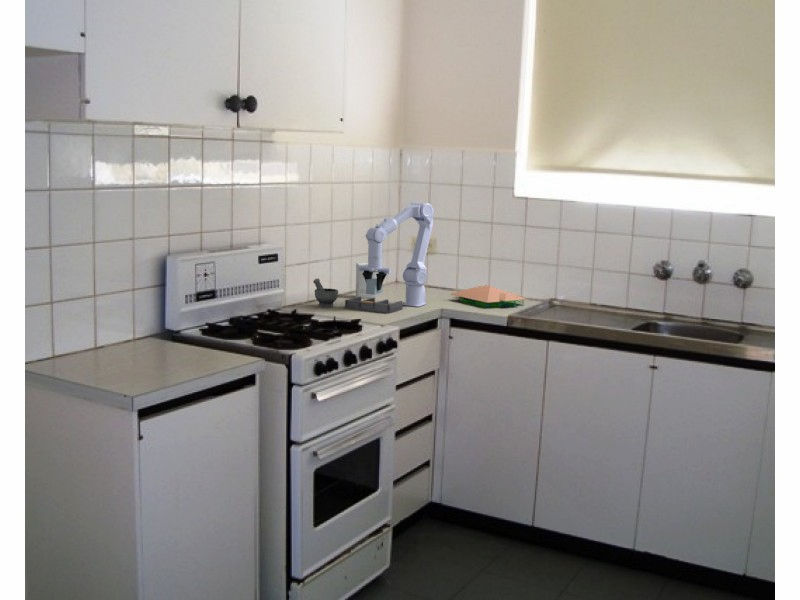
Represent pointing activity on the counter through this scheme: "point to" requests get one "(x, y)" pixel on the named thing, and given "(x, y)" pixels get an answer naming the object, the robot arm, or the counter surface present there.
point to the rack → (373, 305)
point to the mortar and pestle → (325, 295)
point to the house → (488, 296)
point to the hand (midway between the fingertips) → (374, 289)
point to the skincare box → (362, 282)
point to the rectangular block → (372, 287)
